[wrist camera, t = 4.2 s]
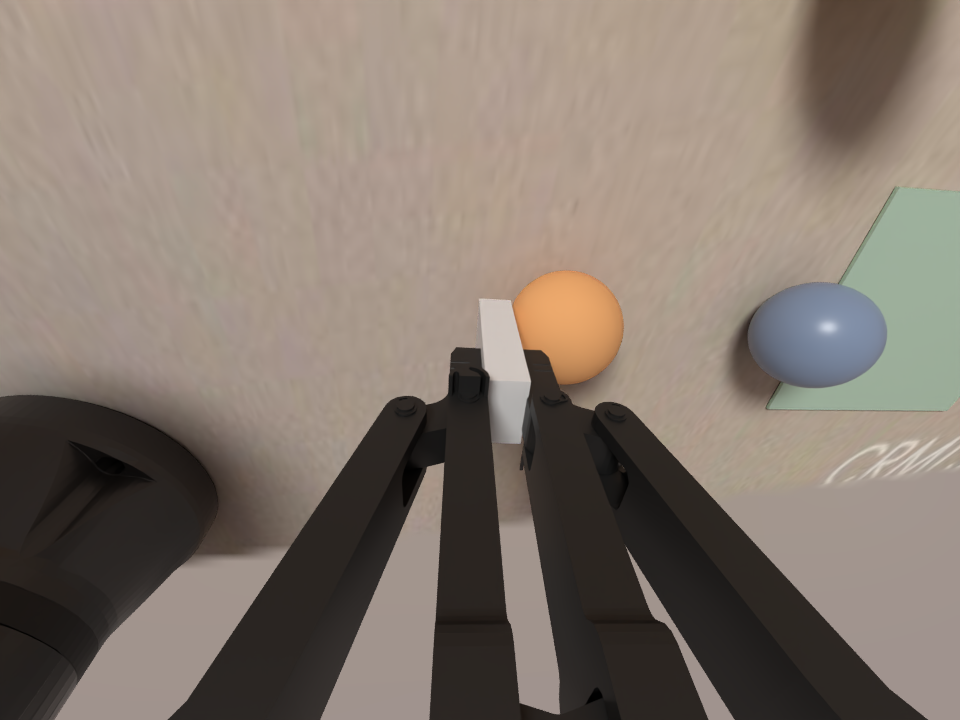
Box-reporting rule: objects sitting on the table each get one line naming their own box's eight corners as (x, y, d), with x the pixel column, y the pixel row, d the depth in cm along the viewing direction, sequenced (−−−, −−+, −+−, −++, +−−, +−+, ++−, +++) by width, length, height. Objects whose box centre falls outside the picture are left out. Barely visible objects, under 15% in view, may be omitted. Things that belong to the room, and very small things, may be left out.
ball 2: (711, 352, 24) (776, 409, 19) (750, 265, 21) (837, 307, 16) (793, 354, 24) (875, 410, 20) (842, 269, 21) (952, 312, 17)
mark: (766, 407, 27) (767, 409, 26) (895, 186, 19) (899, 187, 19) (944, 409, 28) (947, 410, 28) (1128, 204, 21) (1134, 204, 20)
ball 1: (494, 348, 22) (513, 409, 18) (504, 253, 19) (529, 296, 15) (585, 348, 23) (625, 406, 18) (608, 257, 20) (662, 299, 16)
